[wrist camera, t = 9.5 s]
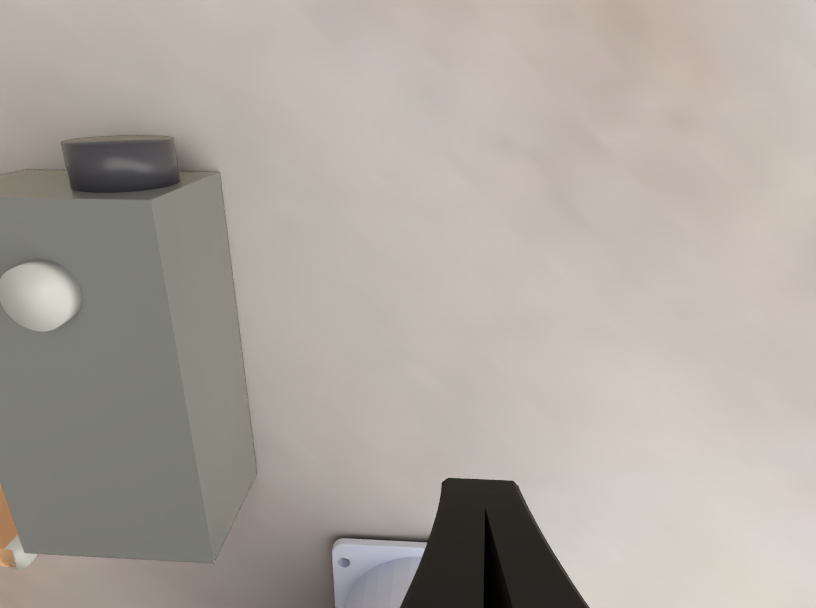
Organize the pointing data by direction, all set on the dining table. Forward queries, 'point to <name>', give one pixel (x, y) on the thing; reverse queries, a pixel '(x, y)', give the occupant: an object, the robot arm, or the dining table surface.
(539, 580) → the robot arm
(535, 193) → the dining table surface
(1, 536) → the long wooden block
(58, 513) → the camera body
